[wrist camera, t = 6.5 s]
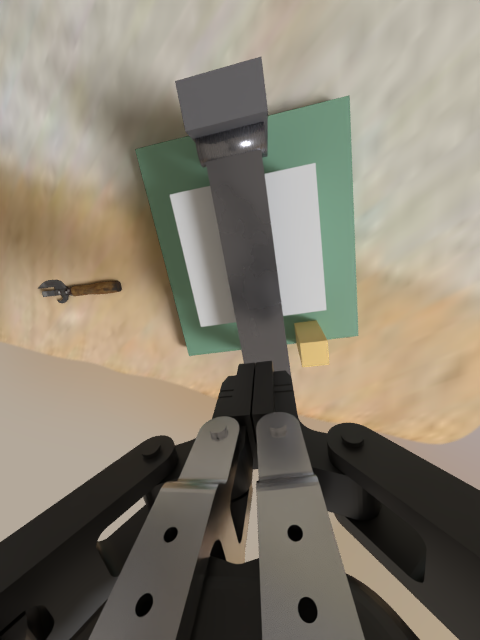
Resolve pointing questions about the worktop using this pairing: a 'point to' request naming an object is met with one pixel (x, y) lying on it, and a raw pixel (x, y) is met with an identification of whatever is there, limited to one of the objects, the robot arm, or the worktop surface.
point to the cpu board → (285, 153)
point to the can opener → (79, 289)
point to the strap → (247, 239)
